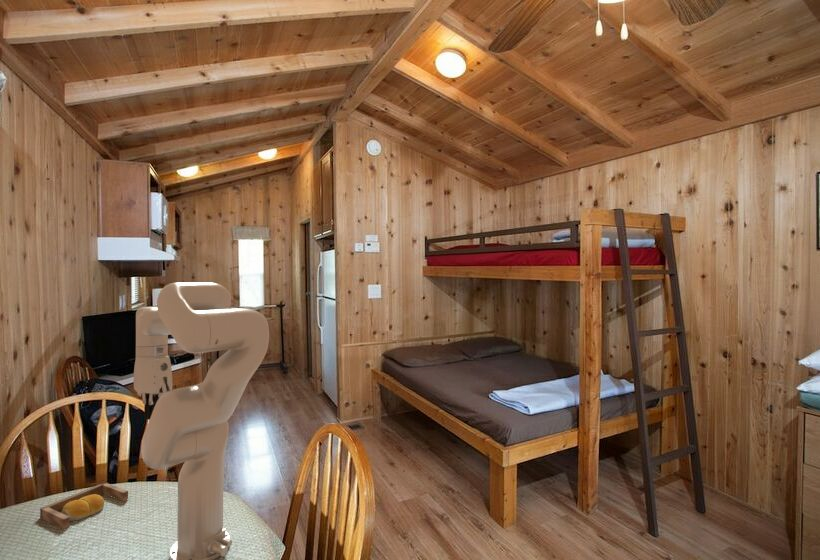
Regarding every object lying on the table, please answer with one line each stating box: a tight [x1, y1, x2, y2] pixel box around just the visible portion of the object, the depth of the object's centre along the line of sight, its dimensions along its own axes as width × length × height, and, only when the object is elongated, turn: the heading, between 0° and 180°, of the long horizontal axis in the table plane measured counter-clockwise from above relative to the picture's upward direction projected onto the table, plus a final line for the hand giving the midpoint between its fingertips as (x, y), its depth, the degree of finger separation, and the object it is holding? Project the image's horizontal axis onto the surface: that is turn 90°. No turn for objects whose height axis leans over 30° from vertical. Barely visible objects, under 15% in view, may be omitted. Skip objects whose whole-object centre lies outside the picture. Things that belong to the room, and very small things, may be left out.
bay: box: [39, 482, 129, 530], centre depth 112 cm, size 11×15×2 cm
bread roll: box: [60, 494, 105, 522], centre depth 111 cm, size 8×9×4 cm
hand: (151, 417), depth 114 cm, fingers closed
